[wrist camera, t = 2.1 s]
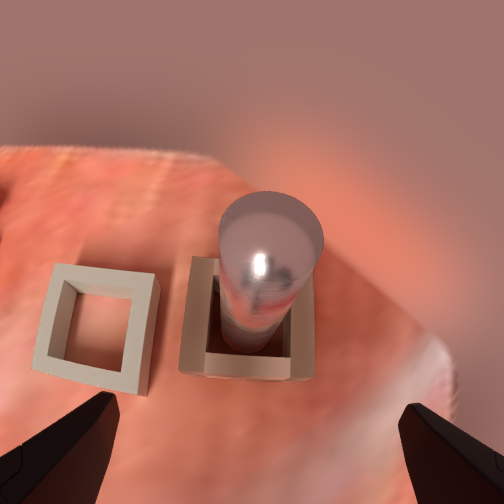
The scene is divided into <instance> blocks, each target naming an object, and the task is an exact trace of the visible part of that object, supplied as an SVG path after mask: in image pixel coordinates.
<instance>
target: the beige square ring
mask: <svg viewBox="0 0 504 504" xmlns="http://www.w3.org/2000/svg"><path fill="white" fill-rule="evenodd" d="M214 292H220V274H219V258H208V257H196V256H192V262H191V269H190V276H189V283H188V290H187V298H186V306H185V313H184V322H183V330H182V339H181V348H180V357H179V367H178V370H179V371H181V372H182V373H183V374H184V375H190V376H199V377H209V378H221V379H234V380H250V381H273V382H305V381H307V380H310V379H312V378H315V315H314V280H313V270H312V272H311V274H310V275H309V277H308V279H307V281H306V282H305V284H304V286H303V287H302V289H301V291H300V292H299V294H298V296H297V297H296V299H295V301H294V302H293V304H292V306H291V307H290V309H289V310H288V312H287V314H286V315H285V317H284V319H283V341H282V357H262V356H245V355H230V354H218V353H209V344H210V333H211V322H212V311H213V301H214Z"/></svg>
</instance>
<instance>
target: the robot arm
mask: <svg viewBox="0 0 504 504" xmlns="http://www.w3.org/2000/svg"><path fill="white" fill-rule="evenodd" d="M119 418H120V412H119V407H118V403H117V399H116V395H115V394H114V393H110V392H106V391H101V392H99V393H98V394H96V395H95V396H93V397H92V398H91V399H89V400H88V401H86V402H85V403H83V404H82V405H80V406H79V407H77V408H76V409H74V410H73V411H71V412H70V413H68V414H67V415H65V416H64V417H62V418H61V419H59V420H58V421H56V422H55V423H53V424H52V425H50V426H49V427H47V428H45V429H44V430H42V431H41V432H39V433H38V434H36V435H35V436H33V437H32V438H30V439H29V440H27V441H25V442H24V443H22V446H21V445H19V446H17V447H16V448H14V449H13V450H11V451H9V452H8V453H6V454H4V455H3V456H1V457H0V504H95V502H96V499H97V496H98V493H99V490H100V487H101V484H102V482H103V479H104V476H105V473H106V470H107V467H108V464H109V461H110V458H111V454H112V449H113V444H114V440H115V436H116V431H117V427H118V423H119ZM398 429H399V433H400V438H401V443H402V448H403V453H404V458H405V462H406V466H407V469H408V473H409V476H410V479H411V482H412V486H413V489H414V492H415V496H416V499H417V502H418V504H504V456H502V455H501V454H499V453H498V452H496V451H493V449H491V448H489V447H488V446H486V445H485V444H483V443H481V442H480V441H478V440H477V439H475V438H473V437H472V436H470V435H469V434H467V433H466V432H464V431H462V430H461V429H459V428H458V427H456V426H455V425H453V424H451V423H450V422H448V421H447V420H445V419H444V418H442V417H441V416H439V415H438V414H436V413H434V412H433V411H431V410H430V409H428V408H427V407H425V406H424V405H422V404H421V403H412V404H408V405H407V406H406V408H405V410H404V412H403V414H402V416H401V418H400V420H399V423H398Z"/></svg>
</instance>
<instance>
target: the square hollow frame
mask: <svg viewBox="0 0 504 504" xmlns="http://www.w3.org/2000/svg"><path fill="white" fill-rule="evenodd" d="M77 292H78V293H84V294H91V295H98V296H105V297H113V298H120V299H128V300H132V305H131V310H130V316H129V322H128V328H127V334H126V340H125V347H124V354H123V361H122V368H121V372H115V371H110V370H105V369H100V368H96V367H91V366H86V365H82V364H78V363H73V362H69V361H65V360H64V356H65V350H66V344H67V339H68V333H69V328H70V323H71V319H72V314H73V309H74V305H75V301H76V296H77ZM160 293H161V286H160V284H159V282H158V280H157V277H156V275H155V274H153V273H143V272H133V271H124V270H114V269H105V268H96V267H87V266H79V265H70V264H62V263H55V266H54V270H53V273H52V277H51V280H50V284H49V287H48V291H47V295H46V299H45V303H44V307H43V311H42V315H41V319H40V324H39V328H38V333H37V338H36V343H35V349H34V354H33V360H32V367H31V369H33V370H37V371H40V372H43V373H46V374H49V375H53V376H56V377H60V378H63V379H67V380H71V381H75V382H79V383H83V384H87V385H91V386H95V387H100V388H104V389H109V390H114V391H119V392H124V393H129V394H135V395H140V396H146V397H147V390H148V381H149V372H150V363H151V355H152V347H153V339H154V332H155V325H156V318H157V312H158V305H159V299H160Z"/></svg>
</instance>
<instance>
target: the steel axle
mask: <svg viewBox="0 0 504 504" xmlns="http://www.w3.org/2000/svg"><path fill="white" fill-rule="evenodd" d="M323 244H324V237H323V231H322V228H321V225H320V223H319V221H318V219H317V217H316V216H315V214H314V213H313V212H312V211H311V210H310V209H309V208H308V207H307V206H306V205H305V204H304V203H302V202H301V201H299V200H297V199H296V198H293V197H291V196H289V195H286V194H282V193H278V192H271V191H263V192H256V193H251V194H248V195H245V196H243V197H241V198H239V199H238V200H236V201H235V202H234V203H232V204H231V205H230V206H229V207H228V209H227V210H226V211H225V213H224V214H223V216H222V219H221V221H220V225H219V274H220V309H221V332H222V336H223V338H224V340H225V342H226V343H227V344H228V345H229V346H230V347H231V348H232V349H234V350H236V351H238V352H242V353H253V352H257V351H259V350H261V349H262V348H264V347H265V346H266V345H267V344H268V342H269V341H270V339H271V338H272V336H273V335H274V333H275V331H276V330H277V328H278V327H279V325H280V323H281V322H282V320H283V319H284V317H285V315H286V314H287V312H288V310H289V309H290V307H291V306H292V304H293V302H294V301H295V299H296V297H297V296H298V294H299V292H300V291H301V289H302V287H303V286H304V284H305V282H306V281H307V279H308V277H309V275H310V274H311V272H312V270H313V269H314V267H315V265H316V263H317V262H318V260H319V258H320V256H321V253H322V250H323Z"/></svg>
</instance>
